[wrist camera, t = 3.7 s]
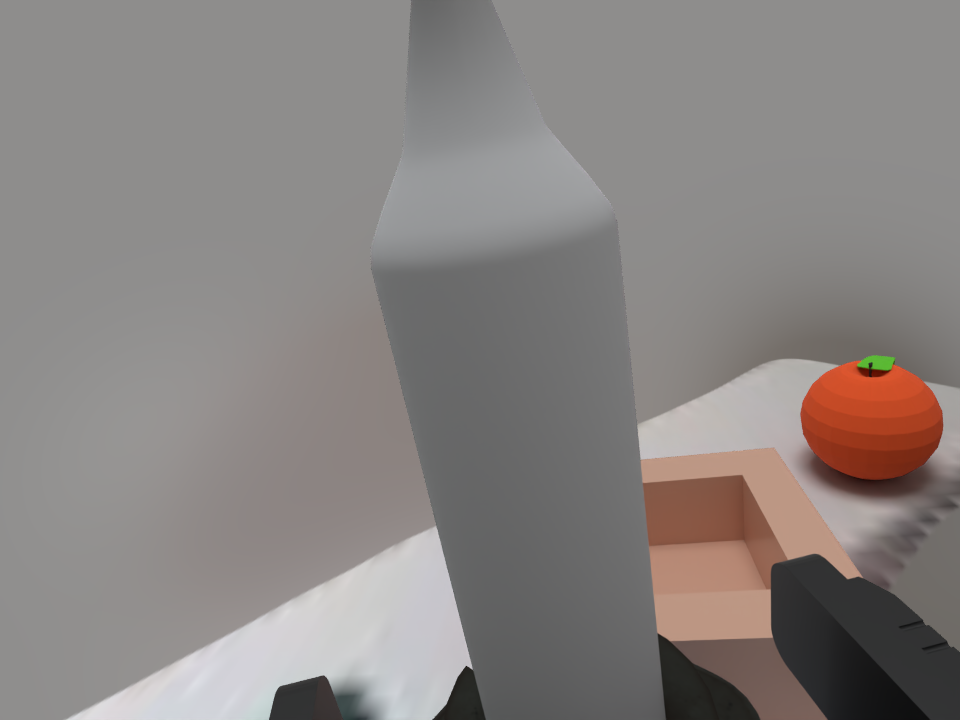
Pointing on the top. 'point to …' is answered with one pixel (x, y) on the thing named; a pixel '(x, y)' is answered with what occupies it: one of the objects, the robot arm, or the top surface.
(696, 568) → the holder block
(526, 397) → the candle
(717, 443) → the top surface
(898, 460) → the clementine
